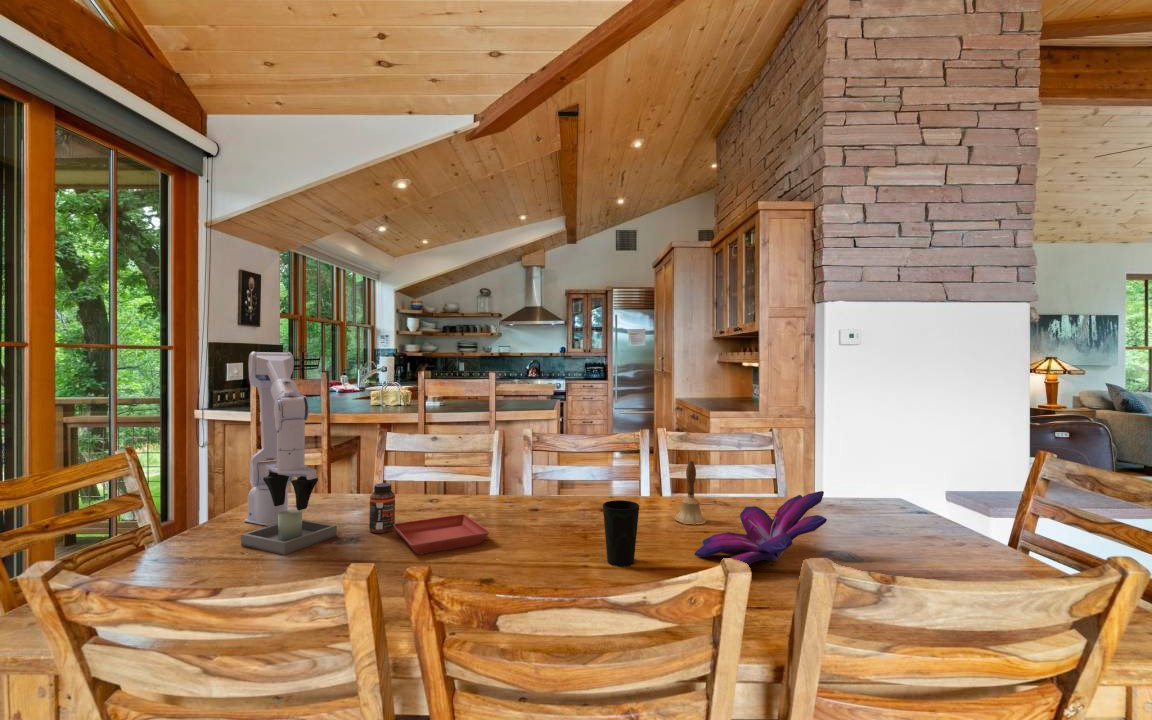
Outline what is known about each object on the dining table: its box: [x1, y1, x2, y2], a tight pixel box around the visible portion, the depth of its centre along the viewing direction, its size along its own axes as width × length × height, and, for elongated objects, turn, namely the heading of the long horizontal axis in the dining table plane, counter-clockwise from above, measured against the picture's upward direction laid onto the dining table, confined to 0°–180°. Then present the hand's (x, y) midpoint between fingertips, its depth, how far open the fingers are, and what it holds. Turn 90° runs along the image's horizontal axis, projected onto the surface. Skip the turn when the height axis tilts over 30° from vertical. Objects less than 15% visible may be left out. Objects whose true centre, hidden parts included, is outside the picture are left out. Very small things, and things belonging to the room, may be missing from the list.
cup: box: [602, 499, 640, 568], centre depth 115 cm, size 8×8×12 cm
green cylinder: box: [277, 509, 303, 542], centre depth 127 cm, size 5×5×6 cm
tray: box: [240, 519, 338, 556], centre depth 127 cm, size 14×14×2 cm
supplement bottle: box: [368, 482, 396, 534], centre depth 135 cm, size 6×6×11 cm
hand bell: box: [674, 460, 707, 524], centre depth 145 cm, size 8×8×16 cm
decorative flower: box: [694, 490, 828, 566], centre depth 116 cm, size 31×31×10 cm
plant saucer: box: [393, 513, 490, 555], centre depth 128 cm, size 18×18×3 cm
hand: (290, 507), depth 127 cm, fingers open, 7 cm apart
